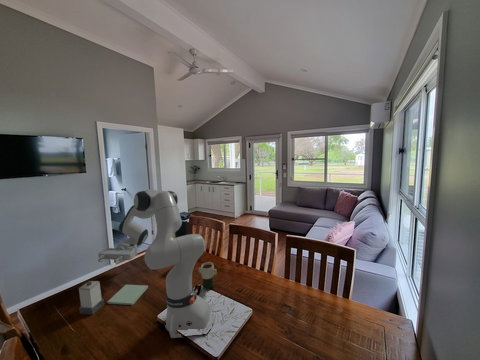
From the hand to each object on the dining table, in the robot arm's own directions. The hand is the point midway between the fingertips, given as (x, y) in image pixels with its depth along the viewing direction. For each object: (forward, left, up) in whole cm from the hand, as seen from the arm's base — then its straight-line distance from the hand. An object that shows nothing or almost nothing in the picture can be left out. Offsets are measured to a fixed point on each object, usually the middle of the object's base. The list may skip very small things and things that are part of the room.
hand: (107, 261), depth 110 cm
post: (0, +12, -18) cm, 22 cm away
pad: (-12, +1, -18) cm, 22 cm away
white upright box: (0, +12, -15) cm, 20 cm away
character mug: (-54, -9, -19) cm, 58 cm away
